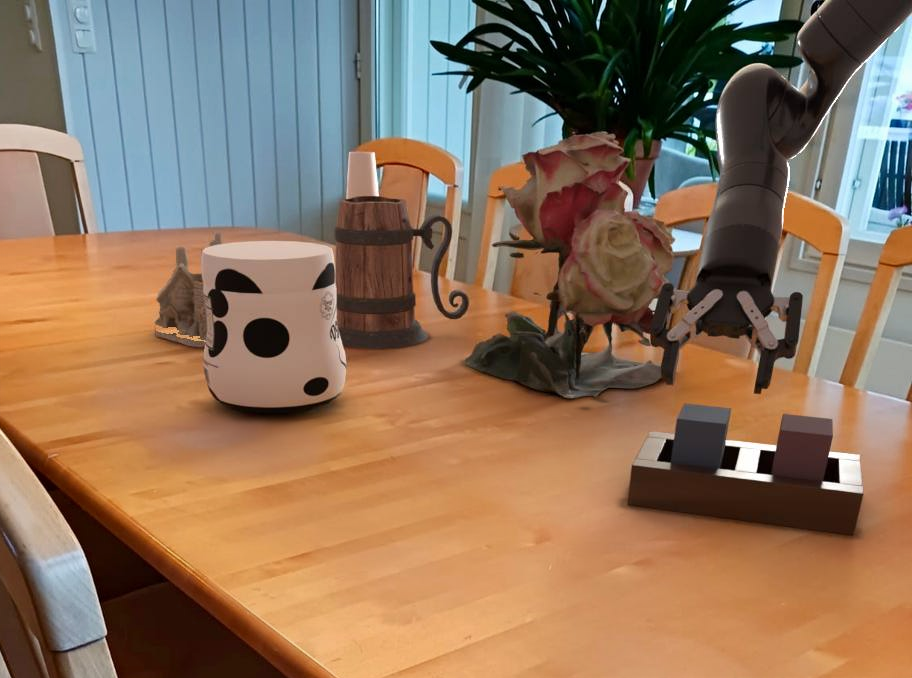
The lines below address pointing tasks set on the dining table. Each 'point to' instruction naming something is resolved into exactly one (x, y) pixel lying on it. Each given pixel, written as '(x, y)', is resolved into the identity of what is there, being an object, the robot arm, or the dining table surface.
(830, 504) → the frame
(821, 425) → the seated pad
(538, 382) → the rose bouquet
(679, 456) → the blue-gray rectangular block
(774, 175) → the robot arm
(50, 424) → the dining table surface
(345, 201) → the tankard
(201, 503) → the dining table surface
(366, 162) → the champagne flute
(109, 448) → the dining table surface
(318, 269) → the milk container
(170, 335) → the ceramic cottage
